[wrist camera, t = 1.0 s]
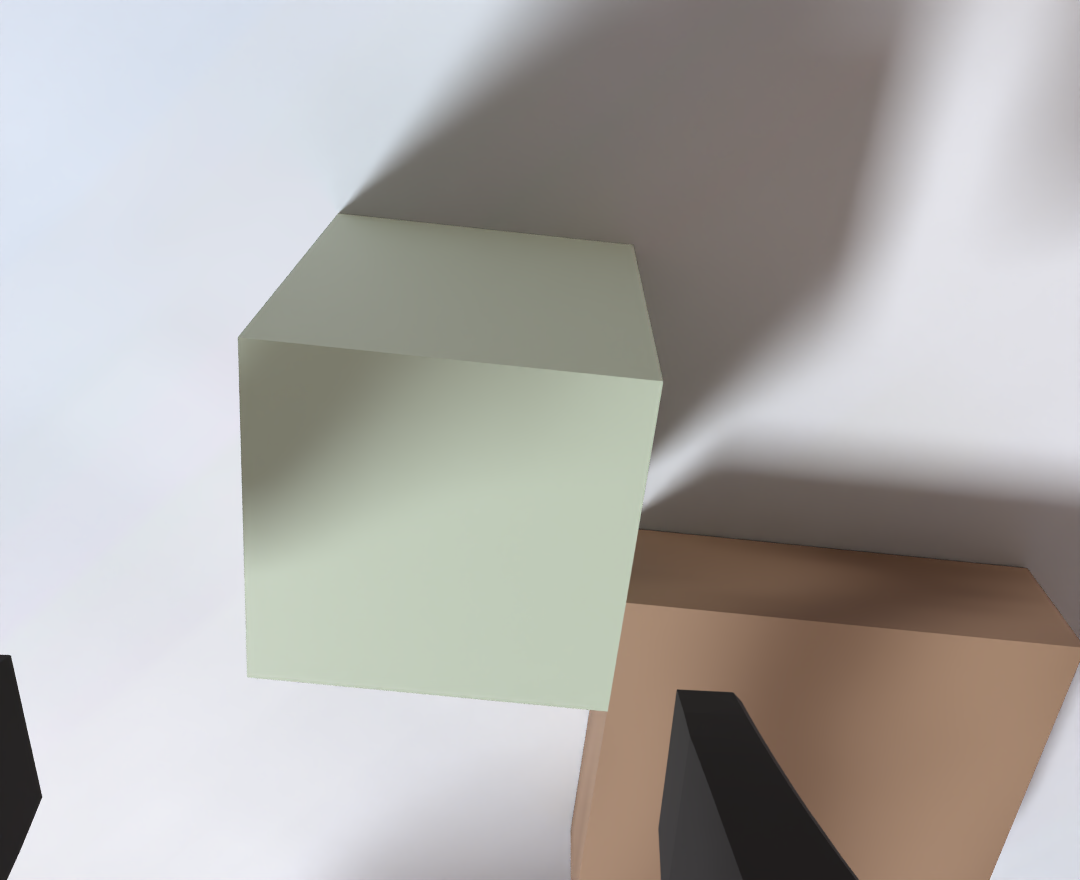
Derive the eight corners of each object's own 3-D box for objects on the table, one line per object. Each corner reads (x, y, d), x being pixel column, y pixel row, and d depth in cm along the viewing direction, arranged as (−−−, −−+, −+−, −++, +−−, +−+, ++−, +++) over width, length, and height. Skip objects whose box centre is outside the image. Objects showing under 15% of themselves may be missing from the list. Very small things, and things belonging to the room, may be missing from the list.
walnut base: (1027, 568, 20) (1085, 648, 18) (919, 862, 24) (956, 959, 21) (619, 527, 20) (625, 602, 18) (570, 829, 23) (571, 924, 21)
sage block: (633, 243, 18) (663, 381, 12) (596, 499, 20) (607, 711, 14) (338, 212, 17) (237, 337, 12) (334, 473, 20) (247, 677, 14)
